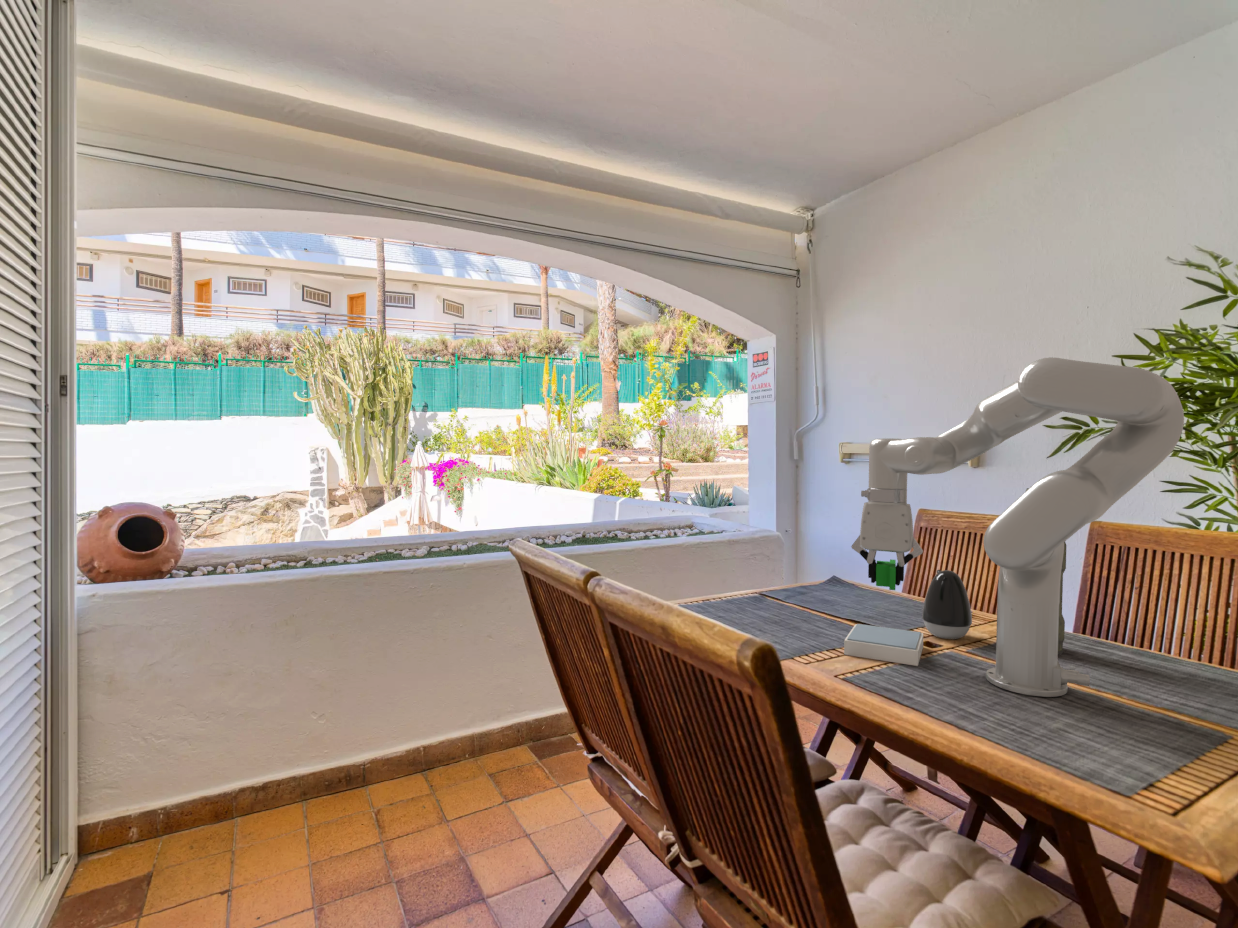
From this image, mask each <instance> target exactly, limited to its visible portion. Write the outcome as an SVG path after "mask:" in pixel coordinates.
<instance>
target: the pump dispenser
mask: <svg viewBox="0 0 1238 928" xmlns="http://www.w3.org/2000/svg"><path fill="white" fill-rule="evenodd" d="M922 607H923V608H922V614H921V618H922V620H923V623H924V624H923V625H925V626H924V627H925V628H926V630H927V631H928V632H929V633H930V634H932V635H933V636H935V638H940V639H945V640H958V639H960V638H963V637H965V636H966V635H967V634H968V632H969V630H970V628H971V625H973V616H972V610H971V609H972V608H971V603H970V600H969V595H968V593H967V589H966V587H965V585H964V582H963V581H962V578H961V577H960V575H959V574H957V572H954V571H952V570H950V569H949V570H947V569H945V570H944V569H943V570H941V569H937V570H936V574H935V575H934V577H933V578H932V580H931V582H930V584H929V587H928V588H927V592H926V595H925V598H924V602H923V605H922Z"/></svg>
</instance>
